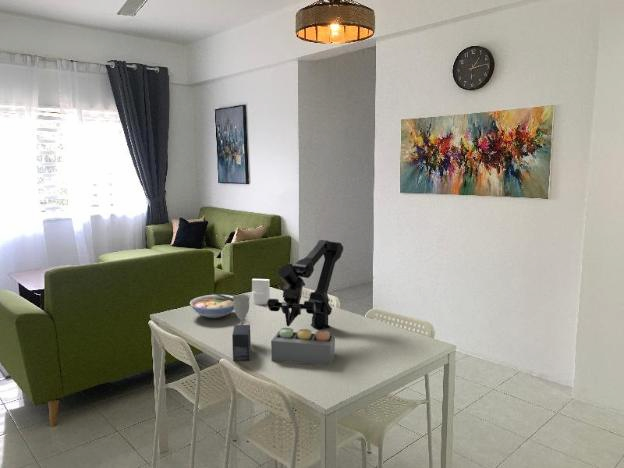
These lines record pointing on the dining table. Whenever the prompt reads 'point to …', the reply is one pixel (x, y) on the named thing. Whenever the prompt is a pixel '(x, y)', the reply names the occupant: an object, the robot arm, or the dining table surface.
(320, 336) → the button terracotta
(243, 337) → the small box
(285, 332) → the button sage
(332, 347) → the grey compartment box
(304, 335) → the button ochre
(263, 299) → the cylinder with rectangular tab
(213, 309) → the ramen bowl
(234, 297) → the chalice
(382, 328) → the dining table surface
